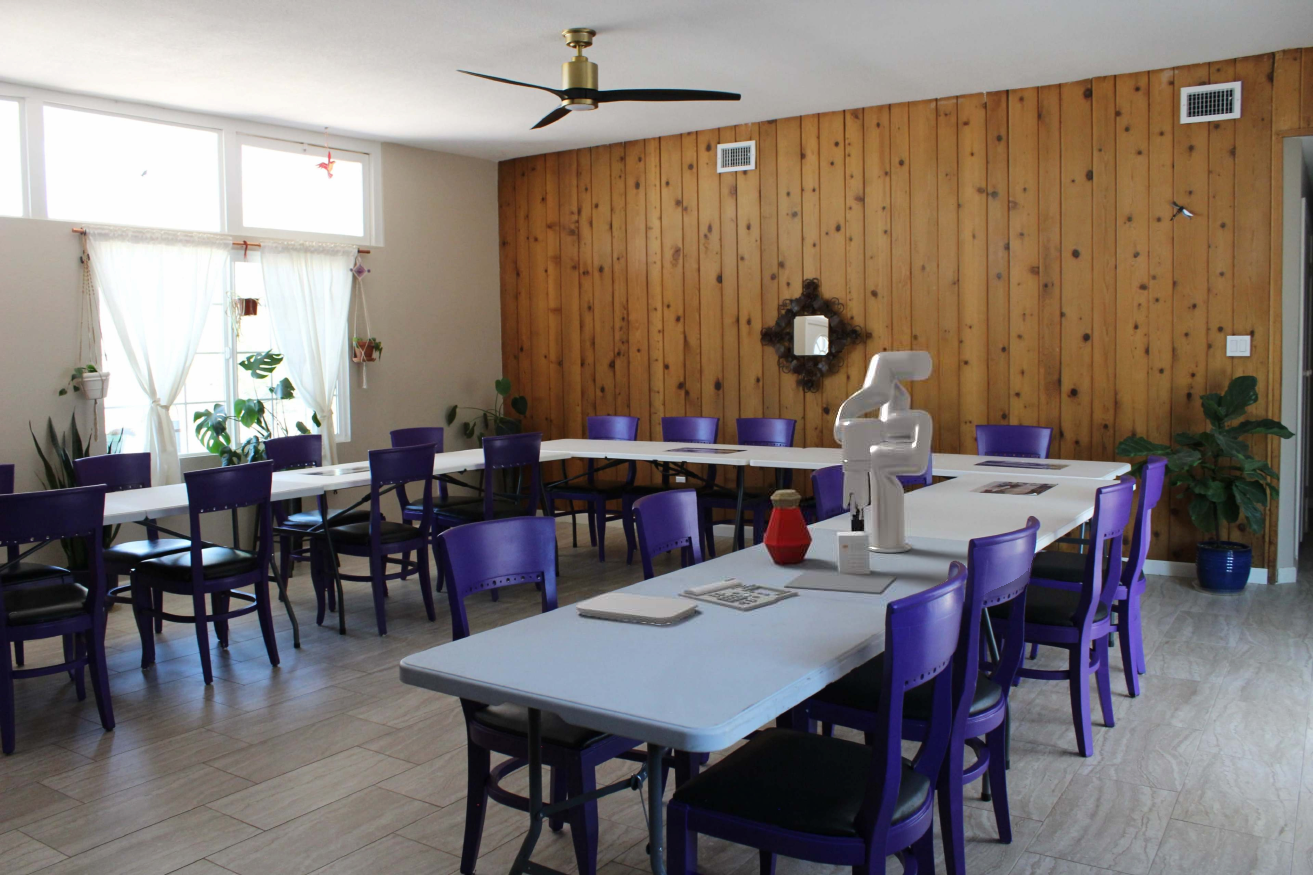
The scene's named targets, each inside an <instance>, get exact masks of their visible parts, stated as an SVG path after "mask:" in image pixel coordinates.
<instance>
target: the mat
mask: <svg viewBox="0 0 1313 875" xmlns="http://www.w3.org/2000/svg"><path fill="white" fill-rule="evenodd" d="M896 578H897V576H894V575H880V574H879V575H877V574H847V573H839V572H827V571H811V570H810V571H808V570H805V571H803V572H802V573H800V574H799V575H797V576H796V577H794V579H792V580H791V581H789V582H788V583H786V584H785V585H784V586H783V587H784V589H802V590H804V589H805V590H814V591H815V590H818V591H831V592H832V591H833V592H845V593H846V592H847V593H861V594H873V595H875V594H876V595H877V594H878V595H880V594H882V592H884V590H885V589H886V588H888V586H890V585H891V583H892V582H894V581H895V580H896Z"/></svg>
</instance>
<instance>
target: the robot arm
mask: <svg viewBox="0 0 1313 875" xmlns="http://www.w3.org/2000/svg"><path fill="white" fill-rule="evenodd" d="M932 370H933V360H932V357H931V354H929V352H927V351H926V350H901V351H899V350H896V351H882V352H879V353H876V354H874V355H873V356H872V358H871V359H870V362H869V365H868V368H867V371H866V375H865V377H864V381H863V384H862V387H861V389H859V390H858V391H856V392H855V393H854V394H852V395H851V396H850V397H849V398H847V399H846V400H845V401H844V402H842V405H841V406H840V407H839V410H838V413H837V416H836V419H835V421H834V427H833V438H834V440H835V441H836V442H837V444H840V445H841V457H842V458H841V459H842V461H841V464H842V473H844V478H843V489H842V491H843V494H842V496H843V499H842V500H843V501H842V507H843V508H844V510H847V509H849V508H850V510H849V511H850V513H849V514H850V530H851V531H850V532H858V531H865V507H867V506H868V505H869V504H870V510H871V511H870V512H871V513H870V516H871V523H870V524H871V542H869V552H876V553H886V554H887V553H888V554H889V553H890V554H892V553H904V552H907V551H910V550H911V544H909V543H907V542H906V531H905V530H906V529H905V491H904V490H905V489H904V488H903V487H904V486H903V485H902V483H901V482H900V481H899V479H898V478H897V476H921V475H923V474H925V473H926V471H927V469H928V465H929V459H930V452H931V447H932V446H931V444H932V437H933V420H932V416H931V414H930V413H929V412H927V411H926V410H922V409H910V406H911V396H910V394H909V393H908V391H907V390H906V388H905V387H904V385H903V386H902V385H901V383H900V382H899V381H922V380H927V379H928V378H929V377H930V375H931V374H932ZM876 409H879V412H878V413H879V414H878V418H875V417H869V418H867V417H859V416H861V415H863V414H866V413H868V412H871V411H875V410H876ZM868 473H869V474H868ZM869 480H870V482H869ZM869 483H870V484H869ZM869 485H870V486H869ZM869 488H870V489H869ZM869 502H870V503H869Z"/></svg>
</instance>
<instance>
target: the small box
mask: <svg viewBox="0 0 1313 875" xmlns="http://www.w3.org/2000/svg"><path fill="white" fill-rule="evenodd" d="M869 538H870V537H869V534H868V532H867V531H865V530H864V531H858V532H851V531H837V532H836V553H837V571H838V573H847V574H863V575H871V570H870V569H871V568H870V566H871V565H870V564H871V563H870V550H869V543H870V539H869Z"/></svg>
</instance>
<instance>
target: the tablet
mask: <svg viewBox="0 0 1313 875" xmlns="http://www.w3.org/2000/svg"><path fill="white" fill-rule="evenodd" d="M698 607H699V602H697V601H695V600H690V599H688V600H687V599H680V598H678V599H677V598H669V597H662V596H652V595H645V594H644V595H641V594H633V593H624V592H609V593H604V594H601V595H598V596H596V597H593V598H590V599H588V600H585V601H582V602H580V603H577V604H576V605H575V609H576V610H577V611H578V614H579V613H580V614H582V615H589V616H596V617H595V618H597V617H601V618H600V619H605V618H609V619H608V620H613V619H619V620H618V621H622V620H627V621H626V622H630V621H636V622H635V623H638V622H646V623H654V624H667V623H672V622H674V621H676V620H678V619H680V620H682V619H683V617H684V618H686V617H688V616H690V615H692V614H694V613H695V612H696V609H697V608H698ZM580 614H579V615H580ZM582 615H581V616H582ZM589 616H588V617H589ZM685 616H686V617H685ZM681 618H682V619H681ZM678 621H679V620H678ZM676 622H677V621H676ZM646 623H645V624H646ZM674 623H675V622H674ZM654 624H653V625H654ZM672 624H673V623H672Z"/></svg>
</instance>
